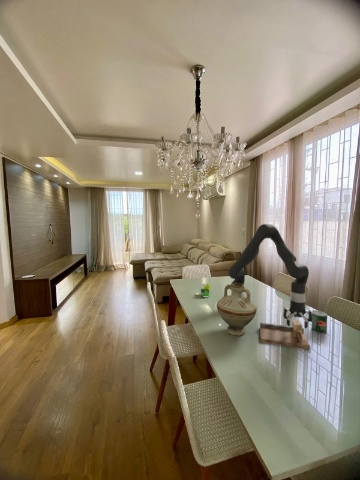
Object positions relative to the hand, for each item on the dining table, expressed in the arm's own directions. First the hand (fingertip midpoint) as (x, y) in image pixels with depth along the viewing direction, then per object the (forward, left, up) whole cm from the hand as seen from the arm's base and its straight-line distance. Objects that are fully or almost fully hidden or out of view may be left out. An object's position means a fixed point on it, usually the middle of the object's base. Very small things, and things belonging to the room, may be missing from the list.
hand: (297, 326), depth 121 cm
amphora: (-34, -2, -7) cm, 35 cm away
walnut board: (-8, -2, -7) cm, 11 cm away
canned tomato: (+14, +13, -7) cm, 20 cm away
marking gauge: (0, -3, -5) cm, 6 cm away
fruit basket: (-66, +54, -7) cm, 85 cm away
